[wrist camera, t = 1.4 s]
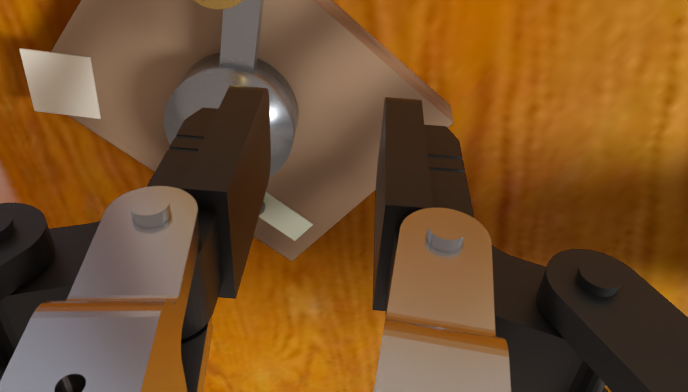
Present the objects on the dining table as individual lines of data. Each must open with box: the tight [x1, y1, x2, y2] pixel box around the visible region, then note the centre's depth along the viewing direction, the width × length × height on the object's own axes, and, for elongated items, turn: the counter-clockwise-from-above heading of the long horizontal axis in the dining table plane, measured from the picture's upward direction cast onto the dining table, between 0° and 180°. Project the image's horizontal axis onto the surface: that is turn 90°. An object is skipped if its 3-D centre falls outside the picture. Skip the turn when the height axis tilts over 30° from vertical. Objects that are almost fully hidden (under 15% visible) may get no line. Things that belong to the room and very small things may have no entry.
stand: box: [19, 0, 453, 261], centre depth 31 cm, size 19×15×3 cm
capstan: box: [164, 0, 299, 177], centre depth 26 cm, size 18×6×8 cm, turn 169°
